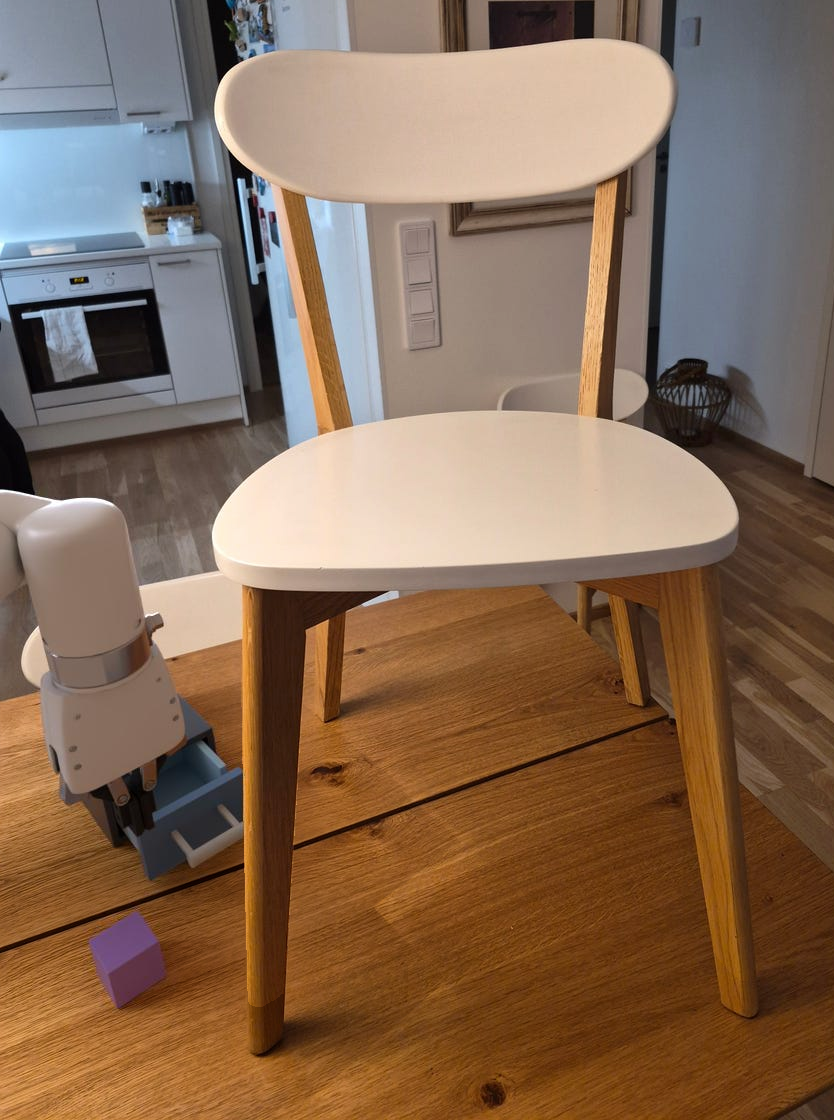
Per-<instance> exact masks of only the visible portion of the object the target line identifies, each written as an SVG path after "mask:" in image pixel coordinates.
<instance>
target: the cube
mask: <svg viewBox="0 0 834 1120" xmlns="http://www.w3.org/2000/svg"><path fill="white" fill-rule="evenodd" d="M88 945H89V949H90V953H91V956H92V961H93V963H94V968H95V971H96V975H97V977H98V979H99V980H100V982H101V984H102V986H103V988H104V989H105V991H106V992H107V994H108V996H109V997H110V999H111V1001H112V1002H113V1004H114V1006H115V1008H116V1009H117V1010H119V1009H120V1008H122V1007H123V1006H125V1005H126V1004H128V1003H129V1002H130V1001H132V1000H134V999H135V998H136V997H138V996H139V995H141V994H142V993H144V992H145V991H147V990H149V988H151V987H153V986H155V985H156V984H157V983H160V981H162V980H163V979H165V978H166V977H167V971H166V967H165V963H164V962H165V961H164V957H163V954H162V948H161V946H160V941H159V939H158V938H157V937H156V935H155V934H154V932H153V931H152V929H151V928H150V926H149V924H148V923H147V922H146V920H145V918H144V917H143V916H142V915H141V912H139V910H135V911H134V912H132V913H131V914H129V915H127V916H125V917H124V918H122V919H121V920H119V921H117V922H115V923H114V924H113V925H111V926H110V927H108V928H106V929H104V930H102V931H101V932H100V933H98V934H96V935H95V936H93V937H91V938H90V939H88Z"/></svg>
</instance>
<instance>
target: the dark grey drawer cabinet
mask: <svg viewBox="0 0 834 1120" xmlns="http://www.w3.org/2000/svg"><path fill="white" fill-rule="evenodd" d="M177 695H178V699H179V702H180V706H181V709H182V713H183V718H184V724H185V736H186V738H187V743H186V744H185V745H184V746H183V747H182V748H180V749H179V750H181V749H183V748H185V747H187V746H189V745H191V744H193V743H195V742H197V741H199V740H202V741H203V742H204V743H205V744H206V745H207V746H208V747H209V748H210V749H211V750H212V751H213V752H214V753H215V754H216V755H217V756H218V751H217V746H216V745H217V744H216V740H215V735H214V728H213V726H211V724H209V722H208V721H206V720H205V719H204V718H203V716H201V715H200V714H199V713H198V712H197V711H196V710H195V709H194V707H192V706H191V705H190V704H189V702H187V701H186V700H185V699H184V698H183V697H182V696H181V695H180V694H179V693H178V692H177ZM179 750H178V751H179ZM176 752H177V751H176ZM128 776H130V773H129V772H128V773H126V774H125V775H123V776H121V777H122V779H124V778H126V777H128ZM81 803H82V804H83V805H84V808H86V810H87V811H88V813H89V814H90V816H91V817H92V818H93V820H94V821H95V822H96V824H97V826H98V827H99V828H100V830H101V831H102V833H103V834H104V835H105V837H106V838H107V839H108V841H109V842H110V844H111V845H112V846H113V848H116V847H118V846H120V845H121V844H123V843H126V842H127V841H129V840H130V839H129V838H128V837H127V835H126V834H125V832H124V831H123V830H122V828H121V827H120V826H119V824H118V823H117V822H116V819H115V814H114V810H113V806H112V802H111V801H107V800H102V799H97V798H94V797H92V798H89V800H86V801H83V802H81Z"/></svg>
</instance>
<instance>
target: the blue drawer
mask: <svg viewBox="0 0 834 1120" xmlns="http://www.w3.org/2000/svg"><path fill="white" fill-rule="evenodd" d="M227 766H228V765H227V764H226V763H225V762H224V761H223V760H222V759H221V758H220V756H218V754H217V755H216V754H215V753H214V752H213V751H212V750H211V749H210V748H209V747H208V746H207V745H206V744H205V743H204V742H203V741H202V740H199V741H197V742H195V743H193V744H191V745H189V746H187V747H185V748H183V749H181V750H179V751H177V752H175V753H174V754H173V755H171V756H168V757H167V760H166V762H165V763H164V765H163V766H162V768H161V770H160V771H159V773H158V775H157V783H156V786H155V787H154V788H153V789H152V790H153V795H154V799H155V804H156V809H157V810H156V811H154V812H153V813H152V815H153V820H154V824H155V827H154V828H153V829H151V830H145V829H144V830H145V831H144V832H143V834H142V835H141V836H139V837H136V836H135V834H134V833H133V832H132V831H131V830H130V828H129V827H126V828H124V829H122V830H123V831H124V832H125V834H126V835H127V837H128V838H129V840H130V843H132V845H133V846H134V848H135V849H136V850H137V852H138V853H139V855H140V859H141V864H142V869H143V873H144V876H145V877H146V879H147V880H148V882H150V883H151V882H152V881H154V880H156V879H157V878H159V877H160V876H162V875H164V874H165V873H168V872H169V871H171V870H172V869H174V868H176V867H178V866H180V865H181V864H182V863H184V862H186V861H187V862H188V865H189V866H190V868H192V869H194V868H196V867H197V866H200V865H201V864H203V863H204V862H206V861H207V860H209V859H210V858H212V857H214V856H216V855H217V854H219V853H221V852H222V851H224V850H225V849H227V848H229V847H231V846H233V845H234V844H235V843H237V842H239V841H240V840H242V839H244V838H245V837H244V822H243V772H244V771H243V770H242V769H241V767H240V766H236V767H235V768H232V770H229V771H228V767H227ZM130 776H131V775H130ZM130 776H128V777H130ZM128 777H126V778H128ZM126 778H124V779H123V781H124V783H126V782H127V780H126ZM111 802H112V801H111ZM112 806H113V803H112ZM113 810H114V808H113ZM114 814H115V812H114ZM115 819H116V816H115ZM116 822H117V819H116ZM117 823H118V822H117ZM118 824H119V823H118ZM119 826H120V825H119ZM120 827H121V826H120Z"/></svg>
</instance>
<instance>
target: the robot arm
mask: <svg viewBox="0 0 834 1120" xmlns="http://www.w3.org/2000/svg"><path fill="white" fill-rule="evenodd" d="M128 528H129V527H128V525H127V521H126V518H125V516H124V514H123V512H122V511H121V509H120V507H118V506H116V505H115V504H114V503H112V502H110V501H108V500H105V499H101V498H97V497H95V498H94V497H80V498H70V499H65V500H58V499H52V498H48V497H42V496H38V495H33V494H29V493H24V492H21V491H14V490H8V489H0V604H1V603H2V602H3V601H4V600H5V599H6V598H7V597H8V596H9V595H10V594H12V593H13V592H15V591H16V590H19V589H20V588H21V587H24V586H26V585H27V586H28V591H29V594H30V598H31V601H32V602H31V603H32V606H33V610H34V614H35V618H36V622H37V626H38V629H39V633H40V637H41V641H42V646H43V649H44V650H43V651H44V654H45V658H46V661H47V665H48V669H49V670H48V671H45V672H44V673H43V674H42V676H41V677H40V683H39V686H40V687H39V700H40V701H39V702H40V703H39V704H40V712H41V714H40V715H41V722H42V728H43V736H44V742H45V748H46V752H47V757H48V760H49V765H50V766H51V769H52V771H53V772H54V774H55V775H59V785H58V796H59V798H60V800H61V801H62V802H63V804H64V805H65V806H66V807H70V806H73V805H76V804H80V803H82V802H83V801H86V800H89V798H92V797H94V798H97V799H102V800H107V801H112V803H113V808H114V812H115V816H116V819H117V822H118V823H119V825H120V826H121V828H122V829H124V828H126V827H129V828H130V830H131V831H132V832H133V833H134V834H135V836H136V837H139V836H141V835H142V834H143V832H144V831H145V830H151V829H153V828H154V827H155V824H154V820H153V815H152V813H153V812H154V811H156V810H157V809H156V804H155V799H154V795H153V790H152V789H153V788H154V787H155V786H156V783H157V775H158V773H159V771H160V770H161V768H162V766H163V765H164V763H165V762H166V760H167V757H168V756H171V755H173V754H174V753H175V752H176V751H178V750H179V749H180V748H182V747H183V746H184V745H185V744H186V743H187V738H186V736H185V724H184V718H183V713H182V709H181V706H180V702H179V699H178V695H177V693H178V692H177V688H176V686H175V683H174V680H173V678H172V675H171V673H170V670H169V668H168V665H167V662H166V660H165V658H164V655H163V654H162V652H161V650H160V648H159V646H158V645H157V643H155V641H154V640H153V634H154V633H156V632H157V630H159V629H163V628H164V627H165V622H164V619H163V616H162V615H161V613H160V612H154V613H152V614H145V611H144V606H143V601H142V595H141V590H140V584H139V580H138V574H137V570H136V563H135V560H134V555H133V550H132V549H133V548H132V544H131V540H130V534H129V529H128ZM128 772H129V773H130V775H131V776H130V777H128V778H126V780H127V782H126V783H124V781H123V779H122V777H121V776H123V775H125V774H126V773H128ZM144 829H145V830H144Z"/></svg>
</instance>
